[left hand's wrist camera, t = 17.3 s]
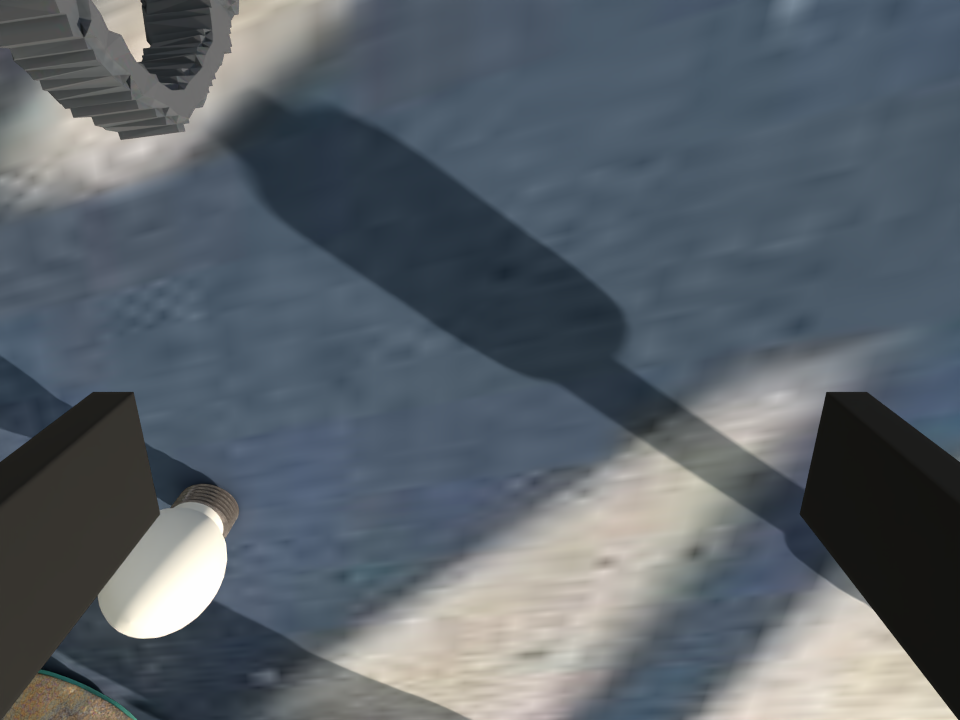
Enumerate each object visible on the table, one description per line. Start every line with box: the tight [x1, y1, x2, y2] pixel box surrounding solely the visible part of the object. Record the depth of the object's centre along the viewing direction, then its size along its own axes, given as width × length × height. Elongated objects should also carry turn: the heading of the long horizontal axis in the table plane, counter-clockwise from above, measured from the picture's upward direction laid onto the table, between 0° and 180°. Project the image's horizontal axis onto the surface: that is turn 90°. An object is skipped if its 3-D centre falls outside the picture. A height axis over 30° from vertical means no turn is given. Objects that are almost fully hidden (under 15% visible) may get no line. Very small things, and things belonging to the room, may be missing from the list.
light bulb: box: [98, 484, 239, 639], centre depth 41 cm, size 7×7×11 cm
